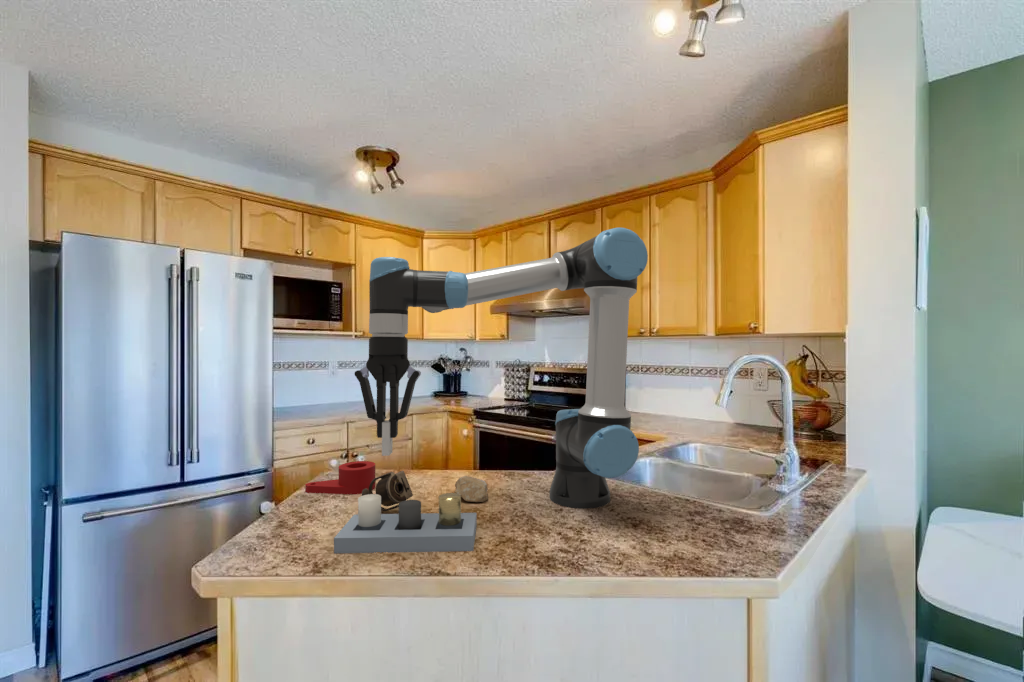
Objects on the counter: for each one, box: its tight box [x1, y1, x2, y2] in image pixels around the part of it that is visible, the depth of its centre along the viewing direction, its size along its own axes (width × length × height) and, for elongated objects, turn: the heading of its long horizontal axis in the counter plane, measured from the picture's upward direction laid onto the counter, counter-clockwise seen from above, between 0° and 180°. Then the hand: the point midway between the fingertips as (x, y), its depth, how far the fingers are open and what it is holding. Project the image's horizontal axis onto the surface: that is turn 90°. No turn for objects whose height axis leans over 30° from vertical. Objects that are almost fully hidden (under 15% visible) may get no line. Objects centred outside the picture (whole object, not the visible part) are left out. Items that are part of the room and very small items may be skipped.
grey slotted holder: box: [333, 512, 478, 554], centre depth 94 cm, size 26×12×3 cm, turn 91°
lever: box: [304, 460, 376, 496], centre depth 125 cm, size 18×9×7 cm, turn 97°
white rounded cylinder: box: [357, 493, 382, 527], centre depth 94 cm, size 4×4×5 cm
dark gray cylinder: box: [398, 499, 422, 530], centre depth 94 cm, size 4×4×5 cm
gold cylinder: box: [438, 492, 462, 526], centre depth 94 cm, size 4×4×5 cm
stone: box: [454, 475, 489, 503], centre depth 119 cm, size 8×10×4 cm
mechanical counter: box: [361, 470, 414, 512], centre depth 108 cm, size 7×13×10 cm, turn 78°
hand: (387, 453), depth 93 cm, fingers closed
